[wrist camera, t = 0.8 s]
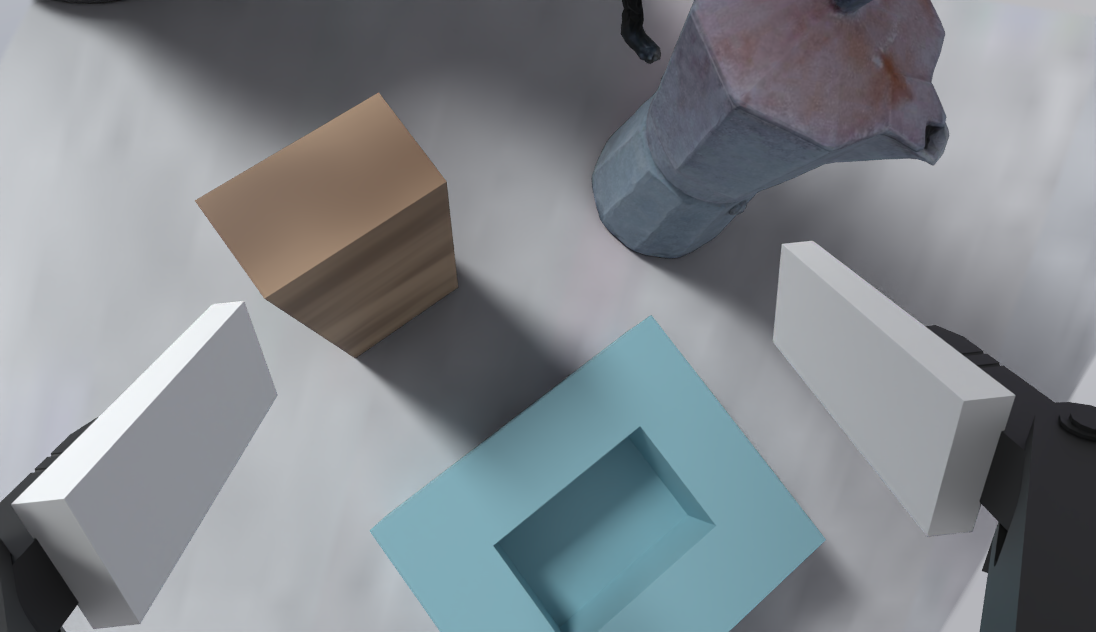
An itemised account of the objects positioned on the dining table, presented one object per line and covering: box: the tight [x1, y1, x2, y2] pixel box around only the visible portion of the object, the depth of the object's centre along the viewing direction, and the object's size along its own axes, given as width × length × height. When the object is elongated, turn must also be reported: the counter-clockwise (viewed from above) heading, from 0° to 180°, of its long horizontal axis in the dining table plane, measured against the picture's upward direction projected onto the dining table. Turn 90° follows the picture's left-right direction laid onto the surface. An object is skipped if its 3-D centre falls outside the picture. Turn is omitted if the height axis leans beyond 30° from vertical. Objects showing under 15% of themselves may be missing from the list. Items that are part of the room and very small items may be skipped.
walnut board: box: [195, 93, 458, 358], centre depth 27 cm, size 4×7×15 cm, turn 127°
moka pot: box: [592, 0, 949, 258], centre depth 28 cm, size 10×15×20 cm, turn 49°
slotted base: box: [370, 315, 826, 632], centre depth 31 cm, size 14×17×5 cm
